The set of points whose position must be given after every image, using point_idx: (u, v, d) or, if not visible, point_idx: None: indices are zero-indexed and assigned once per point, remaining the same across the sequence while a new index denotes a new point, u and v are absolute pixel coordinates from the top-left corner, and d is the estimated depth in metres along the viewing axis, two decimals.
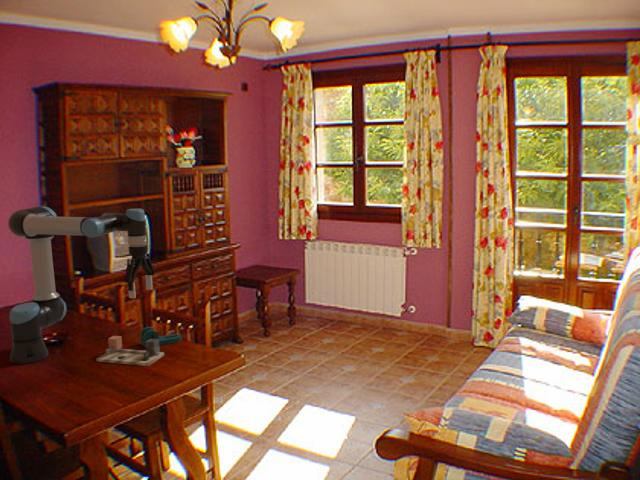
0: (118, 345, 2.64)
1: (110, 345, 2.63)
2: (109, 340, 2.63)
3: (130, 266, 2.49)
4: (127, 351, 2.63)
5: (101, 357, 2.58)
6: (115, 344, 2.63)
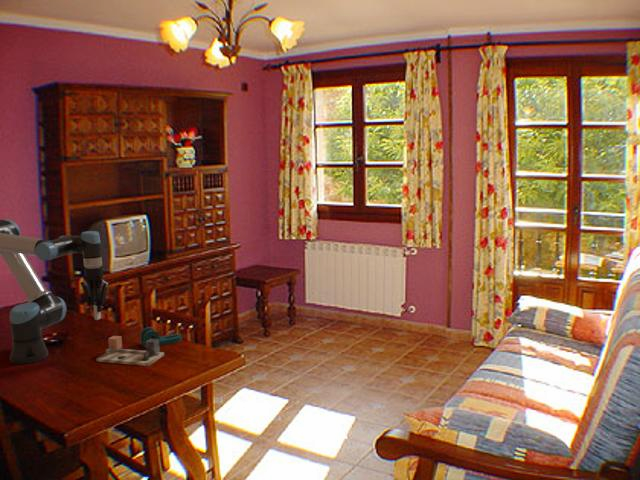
0: (118, 345, 2.64)
1: (110, 345, 2.63)
2: (109, 340, 2.63)
3: None
4: (127, 351, 2.63)
5: (101, 357, 2.58)
6: (115, 344, 2.63)
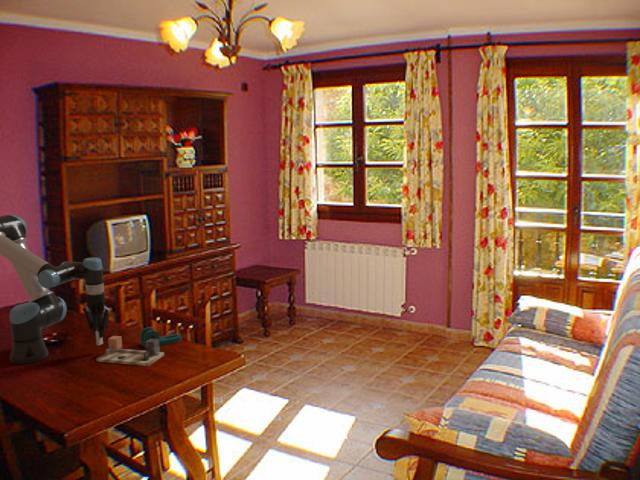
0: (118, 345, 2.64)
1: (110, 345, 2.63)
2: (109, 340, 2.63)
3: None
4: (127, 351, 2.63)
5: (101, 357, 2.58)
6: (115, 344, 2.63)
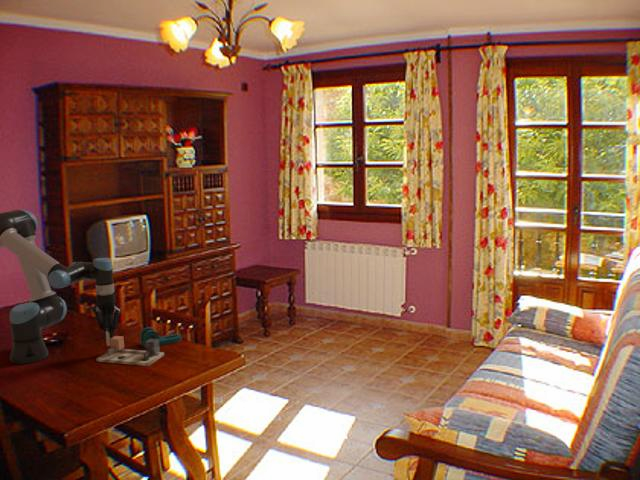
0: (120, 345, 2.63)
1: (112, 345, 2.63)
2: (111, 340, 2.63)
3: None
4: (127, 351, 2.63)
5: (101, 357, 2.58)
6: (117, 344, 2.62)
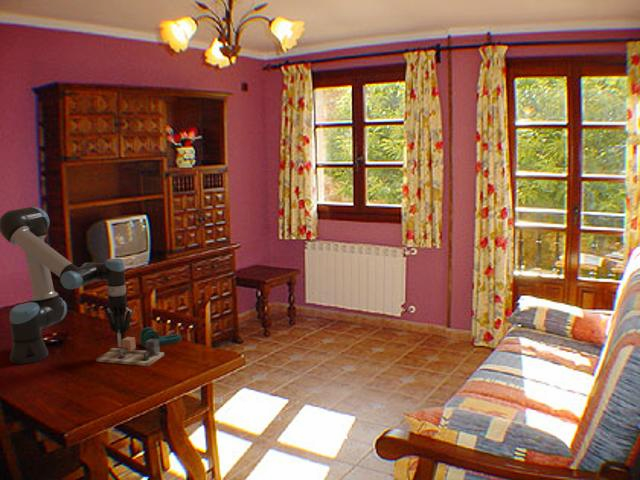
0: (132, 346, 2.62)
1: (124, 346, 2.62)
2: (123, 341, 2.61)
3: None
4: (127, 351, 2.63)
5: (101, 357, 2.58)
6: (129, 345, 2.61)
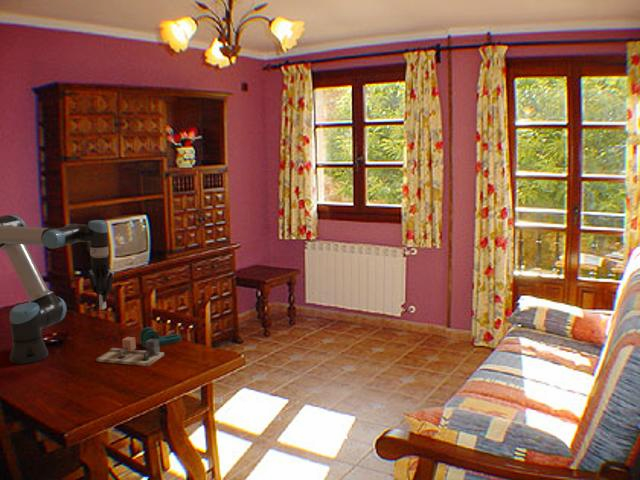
0: (132, 346, 2.62)
1: (124, 346, 2.62)
2: (123, 341, 2.61)
3: None
4: (127, 351, 2.63)
5: (101, 357, 2.58)
6: (129, 345, 2.61)
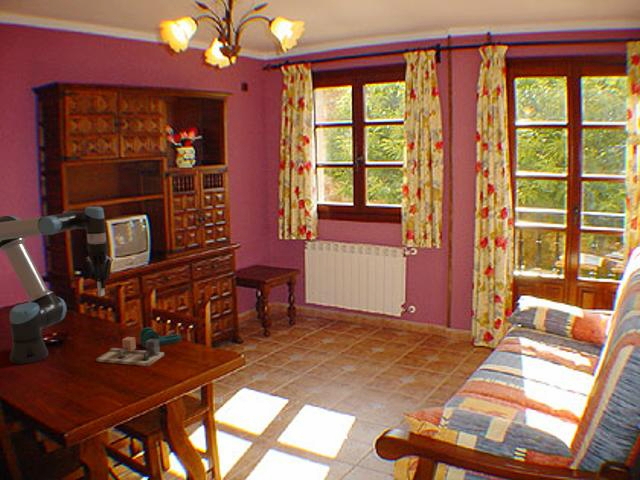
0: (132, 346, 2.62)
1: (124, 346, 2.62)
2: (123, 341, 2.61)
3: None
4: (127, 351, 2.63)
5: (101, 357, 2.58)
6: (129, 345, 2.61)
